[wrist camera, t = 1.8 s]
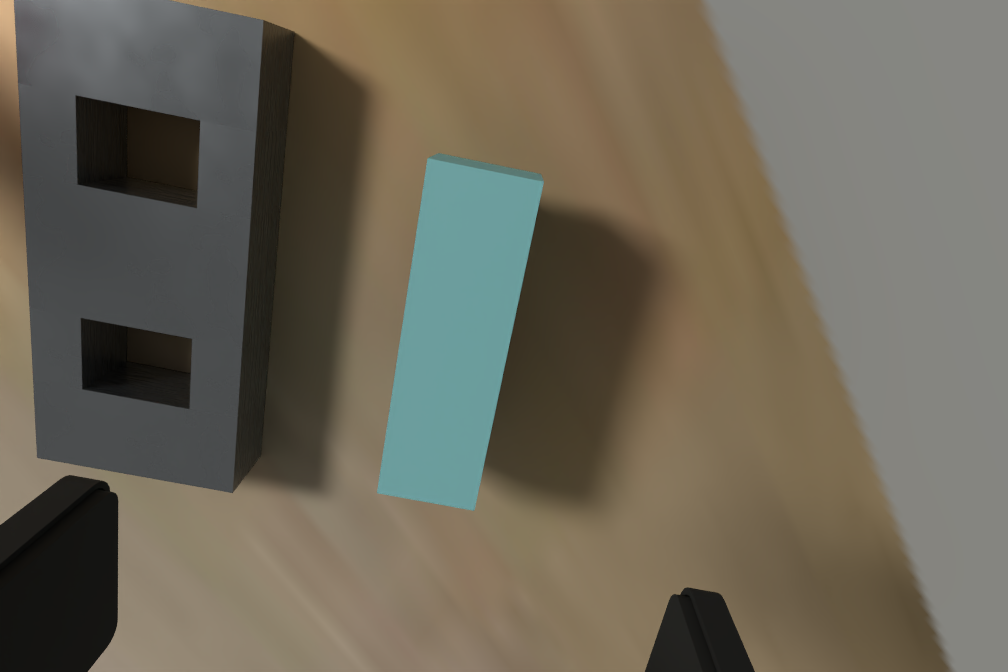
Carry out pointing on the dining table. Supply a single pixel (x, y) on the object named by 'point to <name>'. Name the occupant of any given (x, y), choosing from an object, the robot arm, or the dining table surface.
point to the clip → (457, 327)
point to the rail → (150, 232)
